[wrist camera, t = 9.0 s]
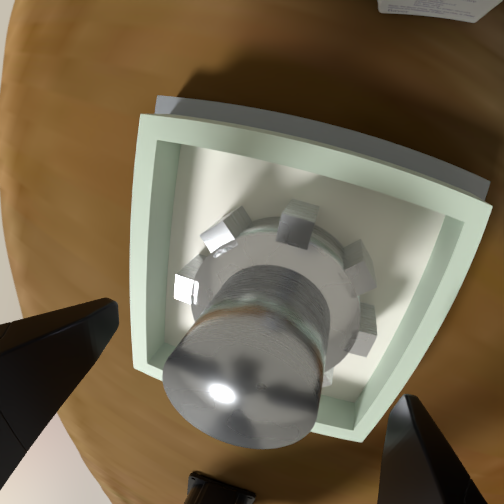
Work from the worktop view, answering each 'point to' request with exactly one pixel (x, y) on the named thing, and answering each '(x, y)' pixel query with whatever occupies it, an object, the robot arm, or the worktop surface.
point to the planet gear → (267, 326)
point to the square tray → (328, 218)
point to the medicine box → (440, 8)
